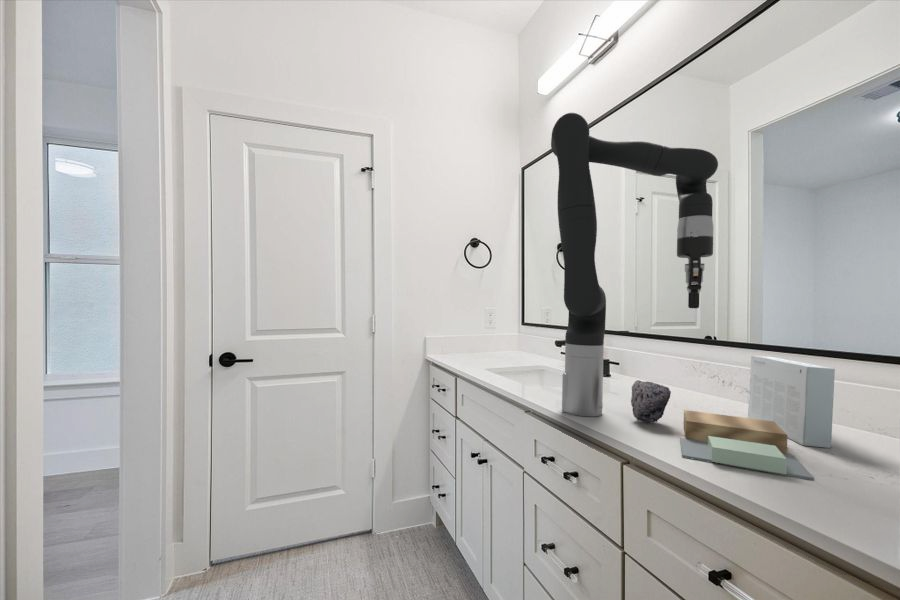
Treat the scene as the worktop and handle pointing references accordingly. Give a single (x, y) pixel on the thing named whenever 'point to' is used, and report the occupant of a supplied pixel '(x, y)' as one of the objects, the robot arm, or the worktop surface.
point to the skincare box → (793, 398)
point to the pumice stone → (649, 401)
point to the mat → (701, 452)
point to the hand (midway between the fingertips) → (693, 308)
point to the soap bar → (747, 454)
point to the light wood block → (733, 429)
